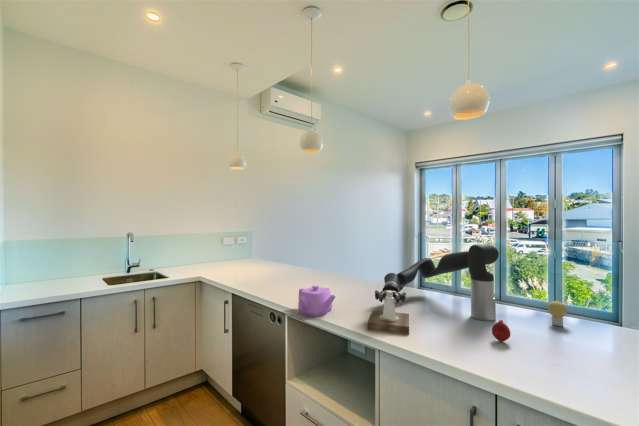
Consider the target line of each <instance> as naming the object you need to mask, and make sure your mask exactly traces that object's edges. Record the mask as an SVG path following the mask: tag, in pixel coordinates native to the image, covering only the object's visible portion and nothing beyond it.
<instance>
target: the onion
mask: <svg viewBox="0 0 639 426" xmlns="http://www.w3.org/2000/svg"><path fill="white" fill-rule="evenodd" d="M491 334H492V335H493V337H494V339H496V340H497V342H500V343H503V342H505V341H507V340H509V339H510V337H511V330H510V328H509V326H508V325H507V324H506V323H504V321H503V320H502V319H499V320H498V321H497V322H495V323H494V324H493V325H492V327H491Z"/></svg>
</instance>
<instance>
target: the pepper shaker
mask: <svg viewBox="0 0 639 426" xmlns="http://www.w3.org/2000/svg"><path fill="white" fill-rule="evenodd" d="M392 295H393V291H389V290H388V291H386V297H385V300H383V301H384V303H383V310H382V311H383V317H384V318H385V319H395V317H396V315H395V312H396V308H395V307H396V306H395V304H396V303H395V301H394V297H392Z"/></svg>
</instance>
